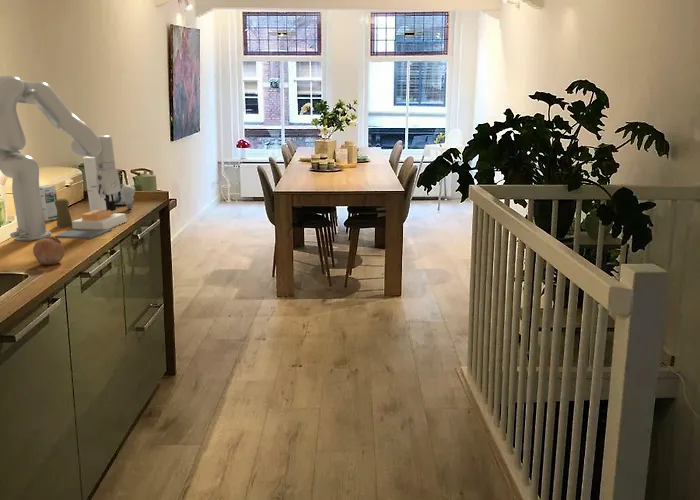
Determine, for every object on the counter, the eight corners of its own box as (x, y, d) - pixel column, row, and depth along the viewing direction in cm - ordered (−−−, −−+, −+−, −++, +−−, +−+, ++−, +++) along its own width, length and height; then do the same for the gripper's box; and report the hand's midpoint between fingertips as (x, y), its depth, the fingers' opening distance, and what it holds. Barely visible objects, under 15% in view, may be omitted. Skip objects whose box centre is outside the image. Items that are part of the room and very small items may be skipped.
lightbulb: (119, 210, 323) (116, 185, 320) (129, 207, 328) (126, 183, 325) (129, 211, 320) (126, 186, 317) (139, 208, 325) (136, 184, 323)
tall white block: (104, 215, 313) (97, 157, 306) (88, 216, 313) (80, 158, 307) (110, 212, 320) (103, 155, 313) (94, 212, 320) (86, 156, 314)
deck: (103, 230, 283) (102, 222, 282) (72, 229, 287) (71, 221, 286) (126, 221, 298) (125, 213, 297) (97, 221, 302) (96, 212, 301)
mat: (91, 238, 271) (91, 237, 271) (55, 237, 276) (54, 235, 276) (111, 230, 283) (111, 229, 283) (76, 229, 288) (76, 227, 288)
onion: (62, 269, 242) (73, 241, 242) (52, 270, 233) (62, 240, 233) (35, 260, 242) (46, 232, 242) (23, 260, 233) (34, 230, 233)
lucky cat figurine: (136, 204, 335) (121, 180, 326) (112, 216, 333) (97, 193, 324) (130, 190, 346) (116, 167, 338) (107, 202, 344) (92, 179, 336)
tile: (97, 220, 285) (96, 214, 285) (82, 220, 287) (81, 214, 287) (111, 215, 294) (110, 210, 293) (96, 215, 296) (95, 209, 295)
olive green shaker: (67, 227, 293) (63, 200, 290) (54, 227, 294) (50, 200, 291) (75, 223, 299) (72, 197, 296) (62, 223, 300) (58, 197, 297)
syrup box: (47, 221, 306) (42, 187, 302) (40, 219, 309) (35, 186, 306) (60, 218, 310) (55, 185, 307) (52, 217, 314) (47, 184, 310)
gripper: (102, 169, 287) (108, 214, 291) (124, 163, 301) (129, 206, 305) (86, 169, 289) (92, 214, 294) (108, 163, 303) (113, 206, 307)
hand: (111, 210), depth 299 cm, fingers closed
